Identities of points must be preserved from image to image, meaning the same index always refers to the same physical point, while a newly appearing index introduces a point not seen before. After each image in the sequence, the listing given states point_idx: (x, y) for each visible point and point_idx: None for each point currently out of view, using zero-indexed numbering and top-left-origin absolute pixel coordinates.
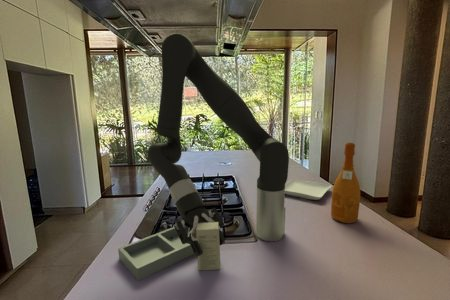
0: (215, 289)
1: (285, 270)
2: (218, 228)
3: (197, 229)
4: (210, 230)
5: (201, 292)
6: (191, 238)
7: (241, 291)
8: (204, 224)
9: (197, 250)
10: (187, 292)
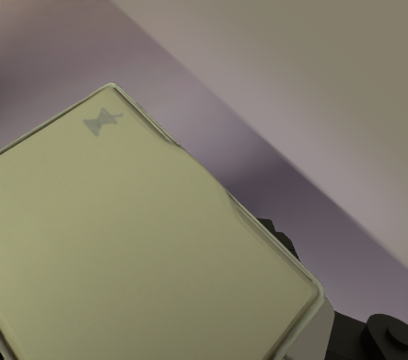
0: (252, 158)
1: (50, 64)
2: (99, 90)
3: (306, 280)
4: (177, 148)
5: (293, 180)
6: (332, 316)
7: (205, 103)
8: (106, 323)
9: (281, 241)
10: (330, 214)
